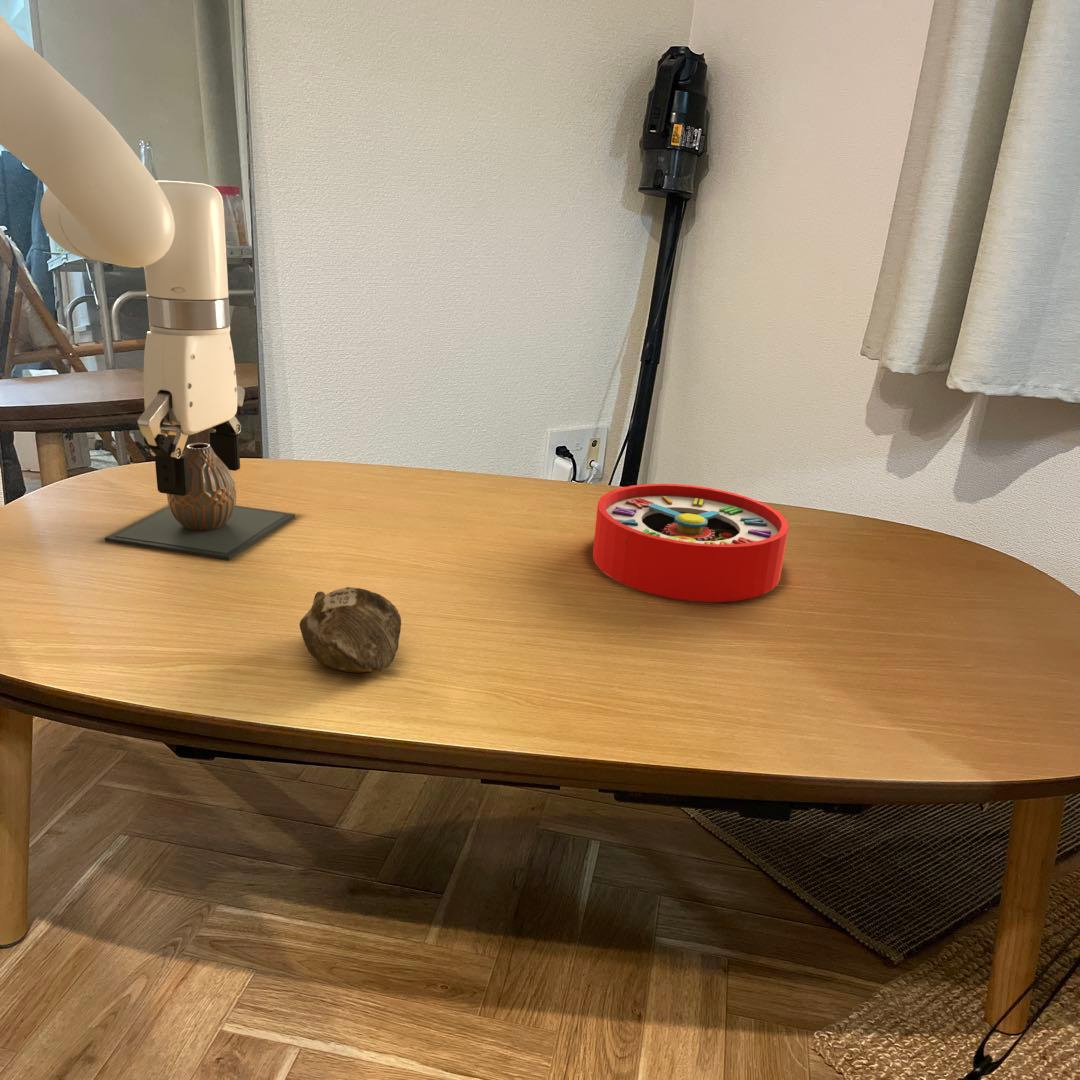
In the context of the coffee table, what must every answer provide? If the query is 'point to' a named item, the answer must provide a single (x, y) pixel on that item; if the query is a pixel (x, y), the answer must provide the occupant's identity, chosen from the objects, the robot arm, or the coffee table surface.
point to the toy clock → (689, 542)
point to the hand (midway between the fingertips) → (201, 480)
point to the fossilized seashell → (352, 630)
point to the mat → (202, 533)
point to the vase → (204, 491)
